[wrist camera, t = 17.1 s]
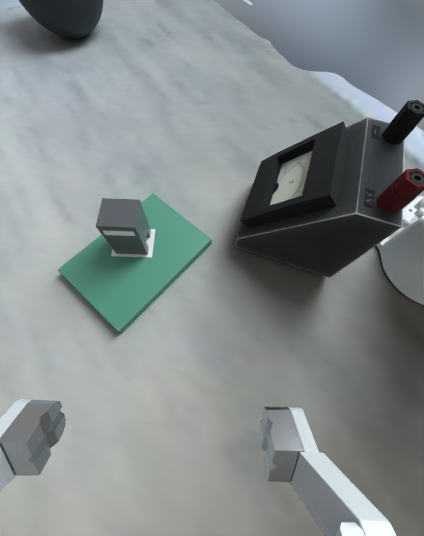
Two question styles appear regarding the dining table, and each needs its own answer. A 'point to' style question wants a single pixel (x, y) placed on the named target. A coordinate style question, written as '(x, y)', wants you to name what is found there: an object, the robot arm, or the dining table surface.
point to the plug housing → (124, 226)
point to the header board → (136, 265)
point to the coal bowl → (66, 15)
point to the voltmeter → (332, 194)
